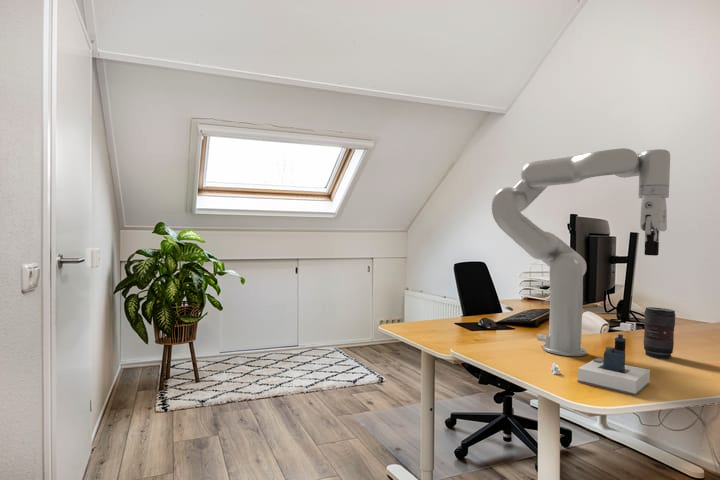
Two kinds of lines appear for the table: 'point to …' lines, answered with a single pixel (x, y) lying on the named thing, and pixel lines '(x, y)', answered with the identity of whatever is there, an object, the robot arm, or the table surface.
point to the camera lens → (659, 332)
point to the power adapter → (555, 369)
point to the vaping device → (615, 356)
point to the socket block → (614, 377)
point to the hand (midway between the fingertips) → (651, 255)
